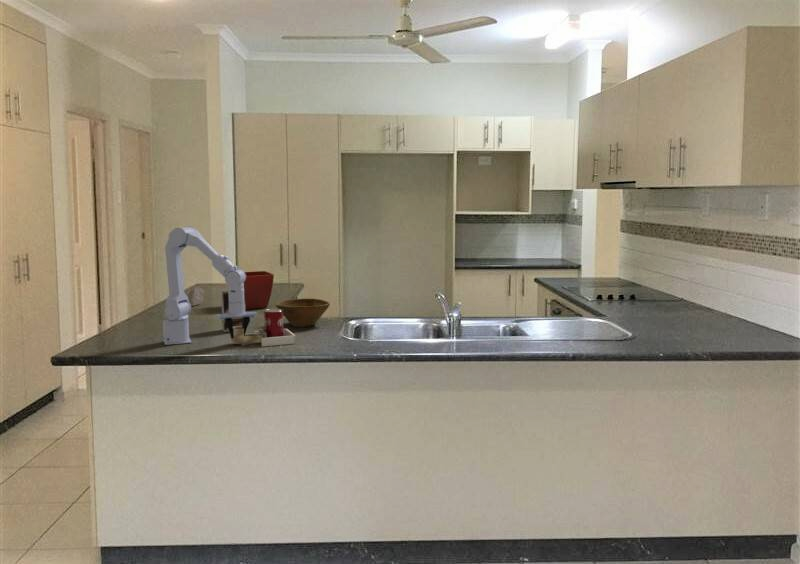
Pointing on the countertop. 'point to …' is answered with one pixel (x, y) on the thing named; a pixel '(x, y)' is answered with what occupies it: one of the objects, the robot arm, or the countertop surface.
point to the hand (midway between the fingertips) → (237, 337)
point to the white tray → (279, 339)
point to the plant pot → (258, 289)
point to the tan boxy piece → (247, 336)
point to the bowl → (303, 310)
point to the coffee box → (226, 310)
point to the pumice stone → (196, 296)
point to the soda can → (273, 322)
